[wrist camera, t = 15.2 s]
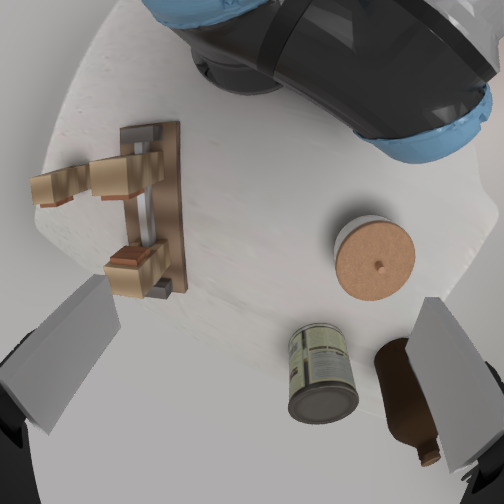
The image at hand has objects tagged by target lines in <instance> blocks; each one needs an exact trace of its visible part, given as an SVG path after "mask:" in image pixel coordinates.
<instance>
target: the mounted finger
mask: <svg viewBox="0 0 504 504" xmlns="http://www.w3.org/2000/svg"><path fill="white" fill-rule="evenodd" d="M89 165H90V178H91V189H92V196H101V200H102V201H103V200H130V199H132V198H134V197H136V196H138V195H140V194H142V193H144V192H145V189H144V188H145V187H147V186H150V185H152V184H154V183H157V182H159V181H161V180H164V156H163V151H155V152H149V153H143V154H135V153H131V154H126V155H120V156H115V157H110V158H105V159H101V160H96V161H92V162H89Z"/></svg>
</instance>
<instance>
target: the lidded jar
mask: <svg viewBox="0 0 504 504" xmlns="http://www.w3.org/2000/svg"><path fill="white" fill-rule="evenodd" d="M333 254H334V265H335V269H336V275H337V278H338V280H339V283H340V285H341V286H342V288H343V289H344V290H345V291H346V292H347V293H348V294H349V295H351V296H353V297H354V298H357V299H360V300H365V301H374V300H380V299H383V298H386V297H388V296H390V295H392V294H394V293H395V292H396V291H398V290H399V289H400V288H401V287H402V286H403V285H404V284H405V282H406V281H407V280H408V278H409V276H410V275H411V272H412V270H413V267H414V263H415V249H414V244H413V242H412V240H411V238H410V236H409V235H408V234H407V232H406V231H405V230H404V229H402V228H401V227H400V226H398V225H397V224H395V223H393V222H392V221H390V220H388V219H386V218H384V217H381V216H376V215H365V216H361V217H358V218H355V219H353V220H352V221H350V222H349V223H348V224H346V225H345V226H344V228H343V229H342V230H341V231H340V233H339V234H338V236H337V239H336V242H335V245H334V252H333Z"/></svg>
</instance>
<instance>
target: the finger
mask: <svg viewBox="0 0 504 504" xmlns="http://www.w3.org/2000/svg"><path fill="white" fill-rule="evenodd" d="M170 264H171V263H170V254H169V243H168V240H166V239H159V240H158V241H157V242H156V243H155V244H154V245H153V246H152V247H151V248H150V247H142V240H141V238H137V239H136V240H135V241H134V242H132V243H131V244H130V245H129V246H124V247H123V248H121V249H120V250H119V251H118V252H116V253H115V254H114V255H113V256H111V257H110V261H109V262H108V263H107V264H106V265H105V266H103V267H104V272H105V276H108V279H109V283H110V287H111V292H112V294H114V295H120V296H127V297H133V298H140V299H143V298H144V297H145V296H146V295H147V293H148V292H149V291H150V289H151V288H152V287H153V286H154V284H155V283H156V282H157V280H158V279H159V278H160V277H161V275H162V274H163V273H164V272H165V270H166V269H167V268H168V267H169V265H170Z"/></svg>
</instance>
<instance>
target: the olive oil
mask: <svg viewBox="0 0 504 504" xmlns="http://www.w3.org/2000/svg"><path fill="white" fill-rule="evenodd" d="M408 340H409V339H407V338H402V339H397V340H394V341H392V342H390V343H388V344H386V345H385V346H384V347H383V348H382V349H381V350H380V351H379V352H378V353H377V355H376V357H375V361H374V363H375V368H376V372H377V376H378V379H379V383H380V388H381V393H382V397H383V402H384V407H385V413H386V418H387V424H388V428H389V431H390V432H391V434H392V435H393V437H394V438H395V439H396V440H398V441H400V442H402V443H405V444H408V445H410V446H413V447H415V448H416V449H417V451H418V456H419V460H421V466H422V467H425V466H429V465H431V464H433V463H435V462H437V461H438V460H439V459H440V458H441V456H440V454H439V451H440V449H439V446H438V444H437V441H436V438H437V436H438V431H437V428H436V425H435V422H434V419H433V417H432V414H431V411H430V408H429V406H428V403H427V400H426V398H425V395H424V392H423V390H422V387H421V385H420V382H419V380H418V378H417V375H416V373H415V370H414V368H413V366H412V363H411V361H410V359H409V356H408V354H407V352H406V350H405V347H406V345H407V343H408Z"/></svg>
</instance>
